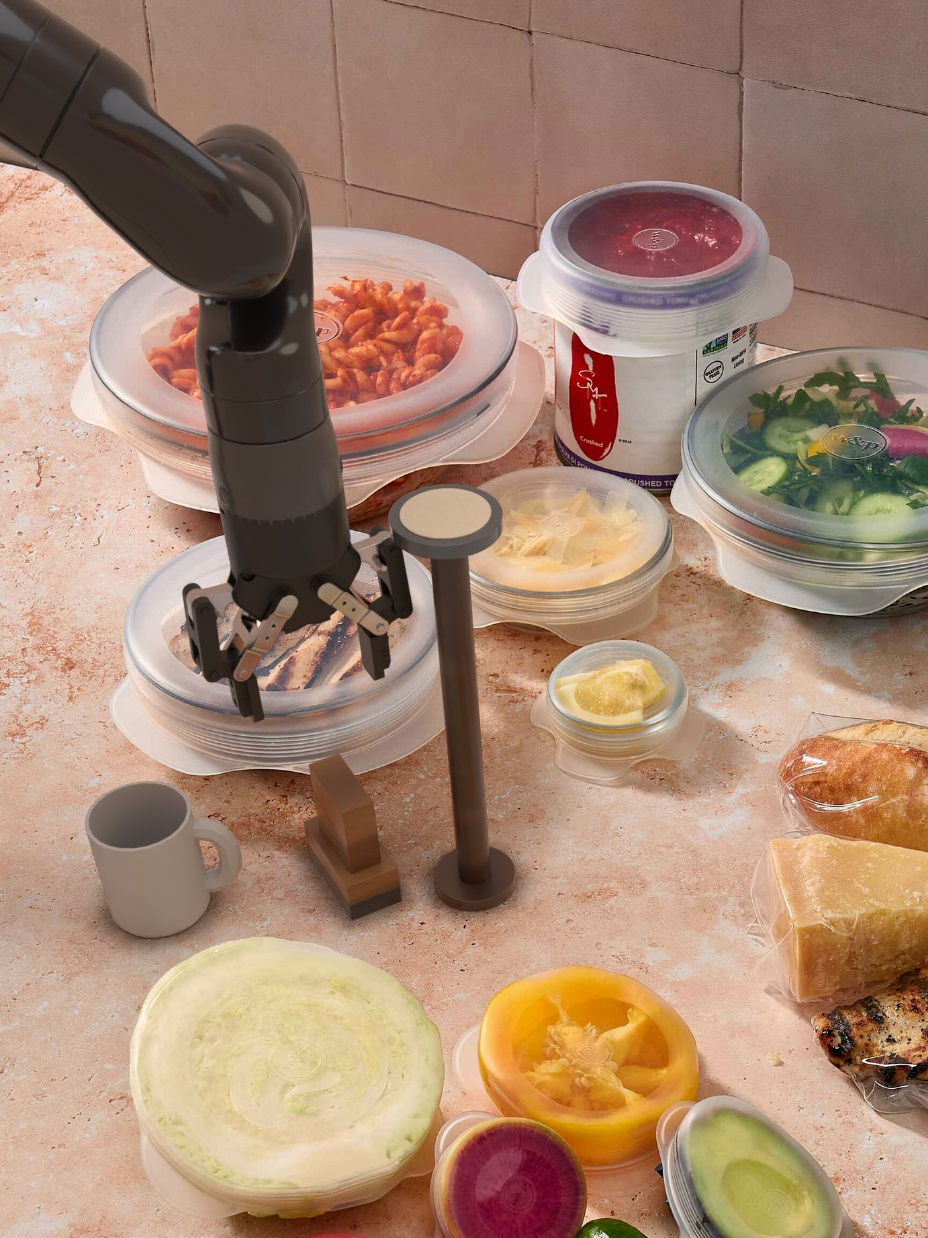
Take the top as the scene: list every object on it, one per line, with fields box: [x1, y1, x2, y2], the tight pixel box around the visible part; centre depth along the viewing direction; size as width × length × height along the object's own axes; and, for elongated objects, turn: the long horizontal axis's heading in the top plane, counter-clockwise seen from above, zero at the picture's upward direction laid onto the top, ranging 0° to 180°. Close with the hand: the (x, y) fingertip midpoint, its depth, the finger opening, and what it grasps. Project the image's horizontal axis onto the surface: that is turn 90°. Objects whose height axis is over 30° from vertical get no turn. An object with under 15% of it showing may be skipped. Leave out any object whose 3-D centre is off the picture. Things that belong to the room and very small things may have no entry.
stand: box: [429, 556, 517, 912], centre depth 113 cm, size 6×6×31 cm
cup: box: [84, 780, 243, 939], centre depth 119 cm, size 7×10×9 cm
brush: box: [302, 753, 403, 921], centre depth 121 cm, size 8×4×10 cm, turn 31°
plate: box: [387, 483, 504, 560], centre depth 102 cm, size 7×7×1 cm
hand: (314, 693), depth 111 cm, fingers open, 8 cm apart
